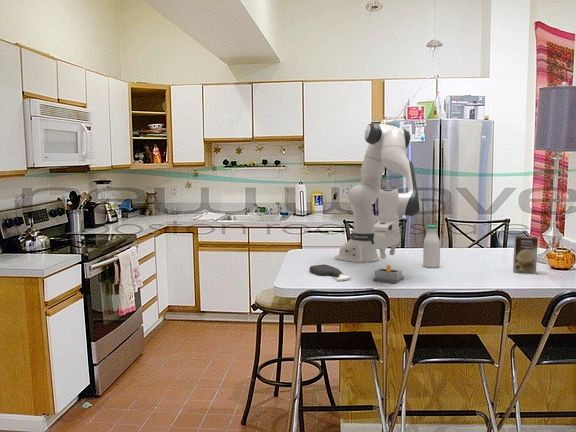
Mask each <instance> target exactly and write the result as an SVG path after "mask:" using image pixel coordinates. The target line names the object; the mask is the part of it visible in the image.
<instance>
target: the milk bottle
mask: <svg viewBox="0 0 576 432" xmlns="http://www.w3.org/2000/svg"><path fill="white" fill-rule="evenodd" d="M426 230H427V231H426V235H425V237H424V240H423V251H422V253H423V254H422V259H423V260H422V266H423V267H424V268H432V269H434V268H439V267H440V266H441V264H440V263H441V241H440V238H439V235H438V233H437V230H438V225H437V224H427V226H426Z"/></svg>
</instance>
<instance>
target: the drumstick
mask: <svg viewBox="0 0 576 432" xmlns="http://www.w3.org/2000/svg"><path fill="white" fill-rule="evenodd" d="M308 270H309V273H312V274H314V275H317V276H321V277H332V279H336V282H343V281H349V280H351V279H352V278H351V277H352V276H351V275H345V274H344V272H342V271H341V270H340V269H339V268H337V267H334V266H332V265H329V264H315V265H310V267H309V269H308Z"/></svg>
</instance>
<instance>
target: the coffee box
mask: <svg viewBox="0 0 576 432" xmlns="http://www.w3.org/2000/svg"><path fill="white" fill-rule="evenodd" d="M538 239H539V238H538V237H537V236H526V235H524V236H523V235H514V242H513V243H514V244H513V245H514V247H513V265H512V271H513V272H514V273H516V274H527V273H529V274H531V275H536V274H537V262H538V261H537V259H538V257H537V256H538V243H539V240H538Z"/></svg>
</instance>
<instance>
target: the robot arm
mask: <svg viewBox="0 0 576 432" xmlns="http://www.w3.org/2000/svg"><path fill="white" fill-rule="evenodd" d="M364 139H365V142H366V143H368V145H367V149H366V151H365V154H364V157H363V160H362V163H361V167H360V174H361V175H360V183H359V184H357V185H354V186H353V187H352V188H351V189H350V190H349V191H348V193H347V199H348V202H349V203H350V206H351V210H352V215H353V231H352V232H351V233H349V235H348V236H349V237H350V239H348V241H346V242H345V243H343V244H342V245H341V246H340V248H339V253H338V254H337V255H335V256H334V259H335V260H338V261H339V260H340V261H347V262H352V263H365V262H366V263H367V262H376V261H378V260H379V257H378V251H377V250H379V254H380V259H381V260H385V259H386V258H387V254H386V249H388V248H390V250H389V251H388V253H389V254H388V255H389V256H395V252H396V248H397V245H398V244H400V243H401V229H400V226H399V225H400V224H399V223H400V216H406V217H414V216H416V215H417V214H418V213H420V210H421V205H422V204H421V199H420V196H419V192H418V185H417V179H416V174H415V167H414V164H413V162H412V161H411V160H410V159H409V158H408V157H407V154H406V152H407V151H406V149H407V148H408V147H409V145H410V142H411V134H410V131H408V130H407V129H405V128H400V127H399V126H395V125H391V124H384V123H379V122H370V123H369V124H368V125H367V126H366V128H365V130H364ZM384 169H387V170H388V171H390V172H394V173H396V174H399V175H401V176H402V177H404V178H405V179H406V185H407V190H408V191H407V192H399V189H398V187H397V186H393V185H384V186H381V185H382V178H383V177H382V176H383V173H384ZM375 203H376V204H375ZM374 204H375V206H376V211H377V212H378V214H377V221H376V215H375V214H374V208H373V205H374Z"/></svg>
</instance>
